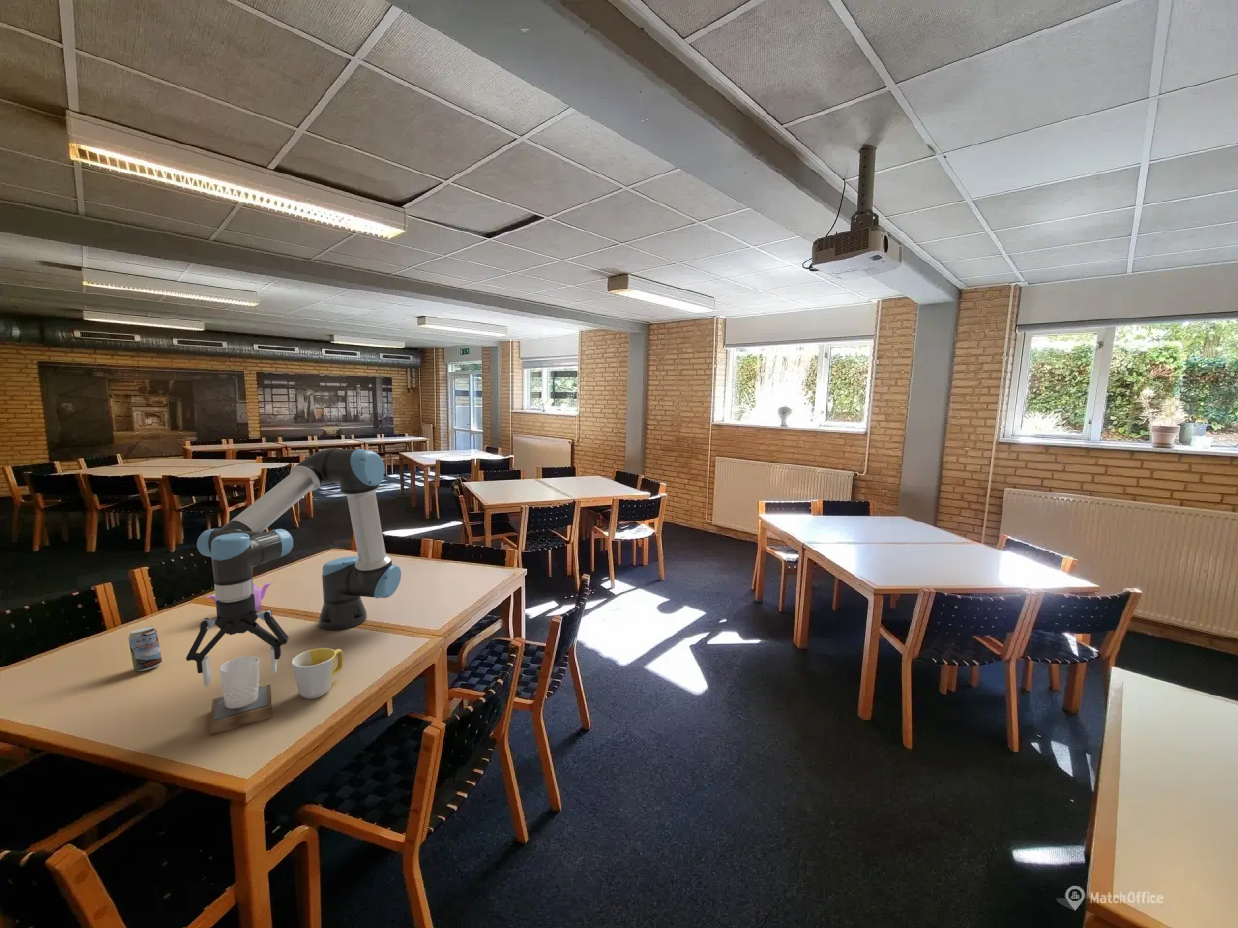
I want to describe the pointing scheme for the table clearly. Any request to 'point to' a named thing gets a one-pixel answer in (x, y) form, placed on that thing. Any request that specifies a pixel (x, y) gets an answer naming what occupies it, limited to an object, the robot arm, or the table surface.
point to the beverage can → (145, 648)
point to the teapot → (257, 596)
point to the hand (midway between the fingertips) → (242, 677)
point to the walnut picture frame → (240, 712)
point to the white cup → (240, 681)
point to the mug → (316, 671)
